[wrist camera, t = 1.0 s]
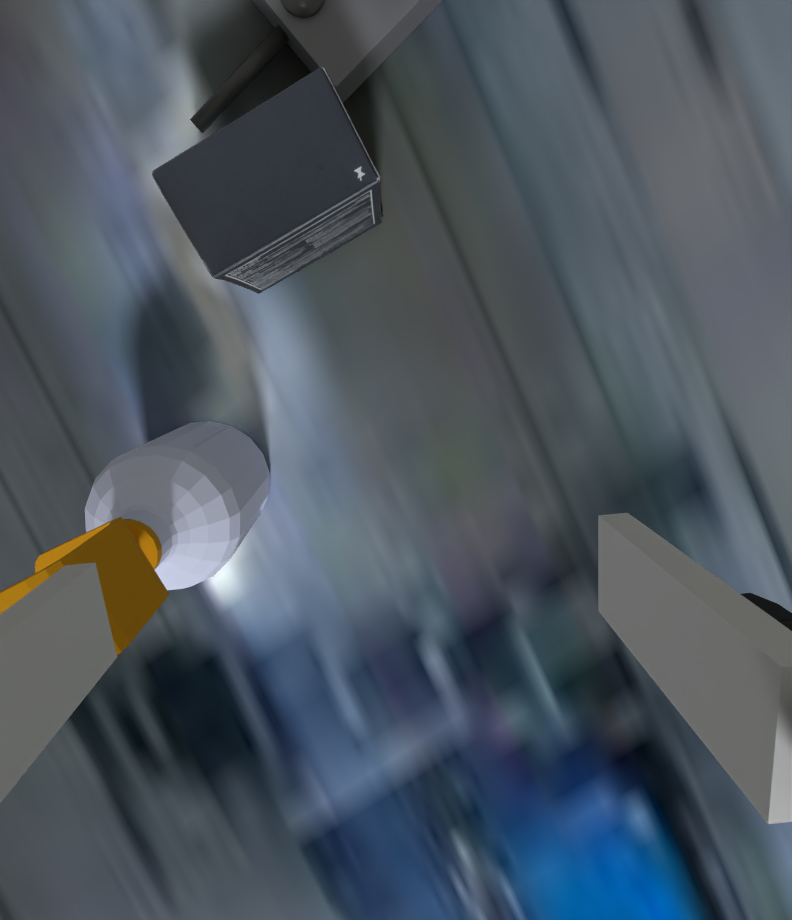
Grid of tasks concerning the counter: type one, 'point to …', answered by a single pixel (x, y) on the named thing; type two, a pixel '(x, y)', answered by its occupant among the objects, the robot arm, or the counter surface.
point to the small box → (275, 186)
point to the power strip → (324, 42)
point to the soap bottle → (162, 521)
